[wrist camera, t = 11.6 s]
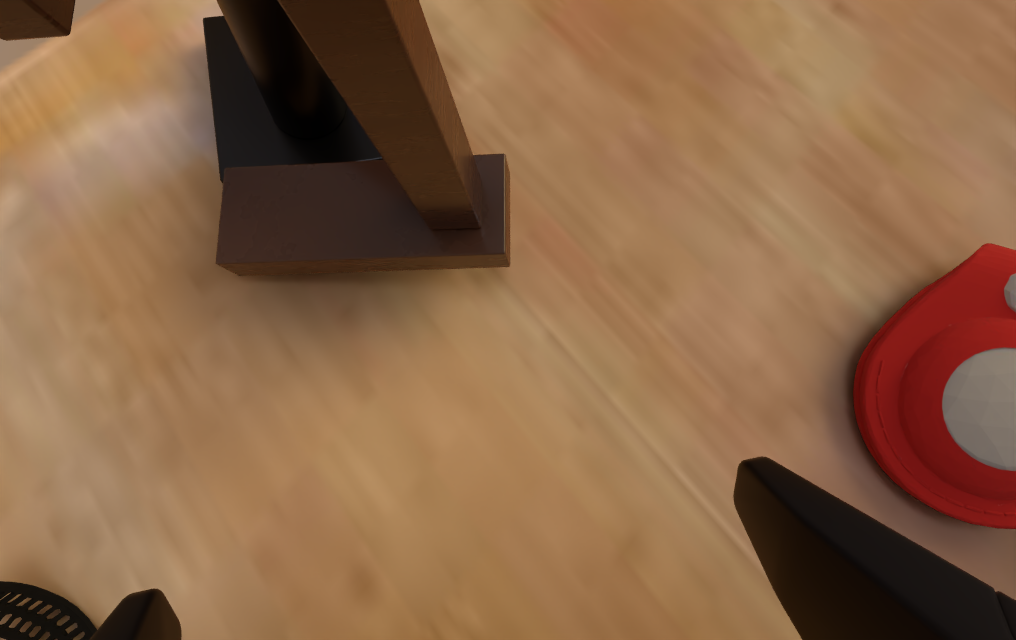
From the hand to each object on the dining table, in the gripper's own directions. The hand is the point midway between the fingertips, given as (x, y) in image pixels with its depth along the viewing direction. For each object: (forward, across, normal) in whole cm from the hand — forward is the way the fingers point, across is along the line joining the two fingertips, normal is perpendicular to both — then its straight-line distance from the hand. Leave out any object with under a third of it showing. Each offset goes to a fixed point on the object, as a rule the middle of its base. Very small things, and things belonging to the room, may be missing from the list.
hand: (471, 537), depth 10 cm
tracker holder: (+7, -19, +9) cm, 22 cm away
